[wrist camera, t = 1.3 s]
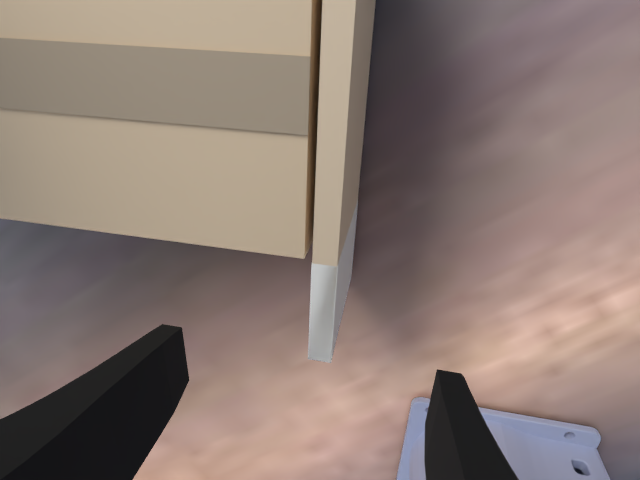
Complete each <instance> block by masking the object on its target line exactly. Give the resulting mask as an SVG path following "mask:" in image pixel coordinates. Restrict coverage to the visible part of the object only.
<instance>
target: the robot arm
mask: <svg viewBox="0 0 640 480" xmlns="http://www.w3.org/2000/svg"><path fill="white" fill-rule="evenodd" d="M188 381H189V376H188V369H187V361H186V354H185V347H184V339H183V332H182V328H181V327H175V326H169V325H163V324H162V325H161V326H159V327H157V328H156V329H154V330H152V331H151V332H149V333H148V334H146V335H145V336H143V337H142V338H140V339H139V340H137V341H136V342H134V343H132V344H131V345H129V346H128V347H126V348H125V349H123V350H122V351H120V352H119V353H117V354H116V355H114V356H112V357H111V358H109V359H108V360H106V361H105V362H103V363H102V364H100V365H98V366H97V367H95V368H94V369H92V370H90V371H89V372H87V373H85V374H84V375H82V376H80V377H79V378H77V379H75V380H74V381H72V382H70V383H68V384H67V385H65V386H63V387H62V388H60V389H58V390H57V391H55V392H53V393H51V394H49V395H48V396H46V397H44V398H42V399H40V400H38V401H36V402H35V403H33V404H31V405H29V406H27V407H25V408H23V409H21V410H19V411H17V412H15V413H13V414H11V415H9V416H7V417H5V418H2V419H0V480H132V479H133V478H134V476H135V475H136V473H137V471H138V470H139V468H140V467H141V465H142V463H143V462H144V460H145V459H146V457H147V456H148V454H149V452H150V451H151V449H152V448H153V446H154V444H155V443H156V441H157V440H158V438H159V436H160V435H161V433H162V431H163V430H164V428H165V427H166V425H167V423H168V422H169V420H170V418H171V417H172V415H173V413H174V412H175V409H176V407H177V405H178V403H179V401H180V399H181V397H182V395H183V392H184V390H185V388H186V386H187V383H188ZM427 407H429V408H427ZM567 432H569V433H567ZM600 441H601V436H600V434H599V432H598V430H597V429H595V428H593V427H588V426H583V425H577V424H571V423H566V422H560V421H554V420H549V419H543V418H537V417H531V416H526V415H520V414H514V413H509V412H503V411H497V410H492V409H486V408H480V407H478V406H477V404H476V402H475V400H474V398H473V396H472V394H471V392H470V389H469V387H468V385H467V383H466V380H465V378H464V377H463V375H462V374H461V373H455V372H449V371H442V370H437V372H436V377H435V381H434V386H433V390H432V394H431V399H429V398H424V397H417V398H414V399H413V400H412V402H411V407H410V412H409V417H408V422H407V427H406V432H405V437H404V442H403V447H402V452H401V457H400V462H399V467H398V472H397V477H396V480H610V478H609V476H608V473H607V471H606V469H605V467H604V464H603V462H602V460H601V457H600V455H599V453H598V451H597V447H598V445H599V443H600Z"/></svg>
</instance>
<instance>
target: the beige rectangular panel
mask: <svg viewBox="0 0 640 480" xmlns="http://www.w3.org/2000/svg"><path fill="white" fill-rule="evenodd" d="M375 2H376V0H322V24H321V50H320V76H319V101H318V127H317V153H316V179H315V205H314V230H313V256H312V266H311V292H310V319H309V345H308V359H311V360H317V361H323V362H329V363H331V361H332V356H333V352H334V348H335V344H336V340H337V335H338V331H339V327H340V323H341V319H342V314H343V310H344V306H345V302H346V298H347V293H348V289H349V285H350V281H351V276H352V265H353V254H354V243H355V232H356V220H357V209H358V193H359V182H360V171H361V159H362V148H363V137H364V126H365V114H366V103H367V92H368V81H369V69H370V58H371V47H372V36H373V25H374V13H375Z"/></svg>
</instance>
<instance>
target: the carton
mask: <svg viewBox="0 0 640 480" xmlns="http://www.w3.org/2000/svg"><path fill="white" fill-rule="evenodd" d="M321 24H322V0H0V218H1V219H9V220H16V221H24V222H31V223H39V224H46V225H54V226H61V227H69V228H76V229H84V230H91V231H99V232H106V233H114V234H121V235H129V236H136V237H144V238H151V239H159V240H166V241H174V242H181V243H189V244H196V245H204V246H211V247H219V248H226V249H234V250H241V251H249V252H256V253H264V254H271V255H279V256H286V257H294V258H301V259H305V256H306V254H307V252H308V250H309V248H310V246H311V243H312V241H313V230H314V205H315V179H316V153H317V127H318V101H319V76H320V50H321Z"/></svg>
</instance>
